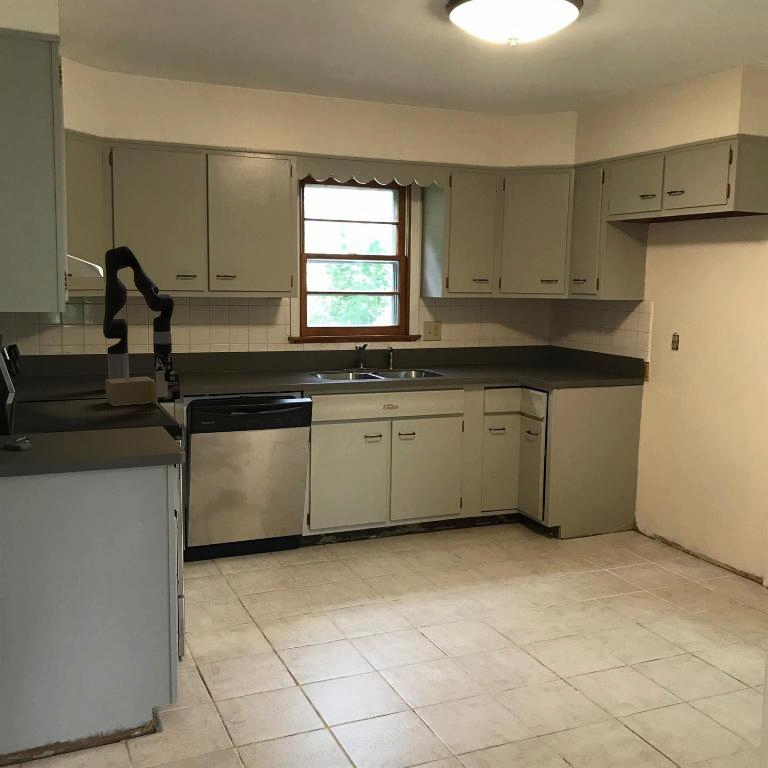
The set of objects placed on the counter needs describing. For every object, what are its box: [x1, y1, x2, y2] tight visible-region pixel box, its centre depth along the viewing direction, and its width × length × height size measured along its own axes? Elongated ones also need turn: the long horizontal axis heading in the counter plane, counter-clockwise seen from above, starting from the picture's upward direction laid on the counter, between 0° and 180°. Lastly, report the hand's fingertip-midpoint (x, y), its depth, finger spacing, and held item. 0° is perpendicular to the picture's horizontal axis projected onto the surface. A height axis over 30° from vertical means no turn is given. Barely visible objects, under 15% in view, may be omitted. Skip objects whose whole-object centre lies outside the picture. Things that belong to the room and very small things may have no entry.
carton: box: [105, 376, 155, 404], centre depth 358 cm, size 12×18×10 cm
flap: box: [151, 370, 168, 404], centre depth 353 cm, size 5×8×15 cm, turn 29°
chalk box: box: [152, 368, 181, 401], centre depth 370 cm, size 9×9×15 cm
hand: (163, 379), depth 351 cm, fingers open, 8 cm apart
